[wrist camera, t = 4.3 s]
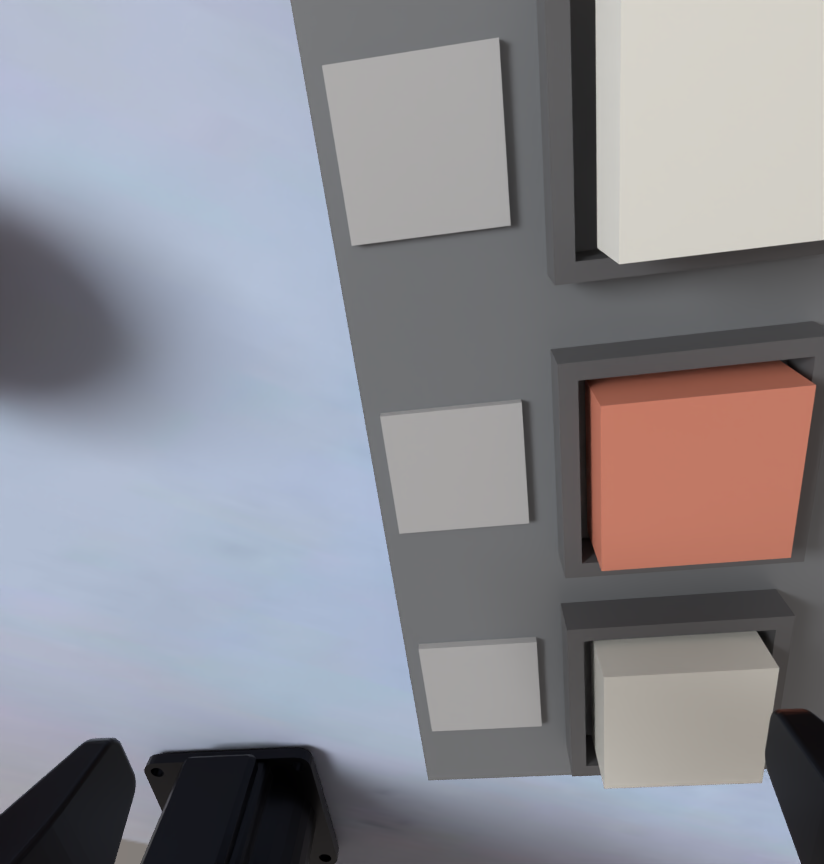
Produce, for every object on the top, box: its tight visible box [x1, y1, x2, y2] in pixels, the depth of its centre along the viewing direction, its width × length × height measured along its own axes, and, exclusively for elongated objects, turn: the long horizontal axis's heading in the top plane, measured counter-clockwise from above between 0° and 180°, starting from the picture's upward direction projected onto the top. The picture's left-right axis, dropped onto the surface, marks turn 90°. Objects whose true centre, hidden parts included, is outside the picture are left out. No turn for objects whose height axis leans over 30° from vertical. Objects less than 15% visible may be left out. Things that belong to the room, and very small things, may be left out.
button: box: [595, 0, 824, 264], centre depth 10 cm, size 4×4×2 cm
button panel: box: [291, 0, 824, 780], centre depth 16 cm, size 22×12×4 cm, turn 7°
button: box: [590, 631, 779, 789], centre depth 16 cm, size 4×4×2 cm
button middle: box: [585, 360, 816, 571], centre depth 14 cm, size 4×4×2 cm
